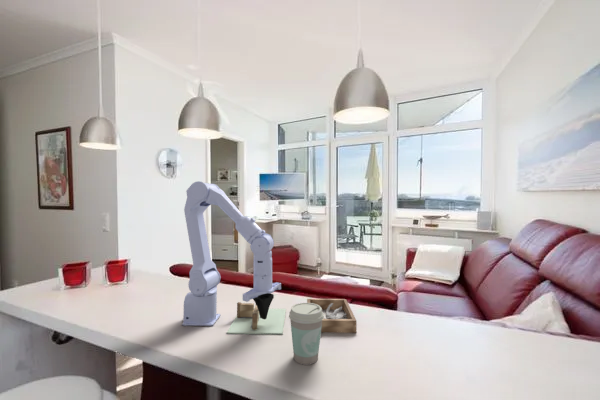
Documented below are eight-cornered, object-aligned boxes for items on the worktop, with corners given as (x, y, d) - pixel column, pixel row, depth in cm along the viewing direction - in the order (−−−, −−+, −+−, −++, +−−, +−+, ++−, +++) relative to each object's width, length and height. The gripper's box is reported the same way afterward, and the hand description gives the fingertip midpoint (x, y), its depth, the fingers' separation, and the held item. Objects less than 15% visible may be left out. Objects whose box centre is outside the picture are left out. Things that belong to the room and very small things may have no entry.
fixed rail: (236, 317, 86) (236, 302, 86) (237, 316, 88) (237, 301, 88) (258, 318, 86) (258, 303, 86) (259, 316, 88) (259, 301, 88)
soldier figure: (353, 322, 87) (344, 325, 77) (341, 331, 88) (331, 335, 77) (338, 301, 91) (328, 301, 81) (327, 310, 92) (316, 311, 81)
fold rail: (254, 318, 86) (254, 304, 86) (259, 317, 86) (259, 304, 86) (251, 329, 78) (252, 315, 78) (256, 329, 78) (256, 315, 78)
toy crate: (308, 332, 78) (308, 320, 78) (307, 308, 96) (307, 298, 96) (356, 332, 78) (356, 320, 78) (345, 308, 96) (346, 299, 96)
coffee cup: (296, 372, 59) (297, 317, 60) (283, 352, 67) (284, 304, 67) (330, 363, 63) (330, 311, 63) (313, 345, 71) (314, 300, 71)
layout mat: (226, 333, 77) (226, 332, 77) (240, 309, 95) (240, 308, 95) (282, 334, 76) (282, 332, 76) (286, 309, 94) (286, 308, 94)
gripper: (254, 281, 74) (254, 330, 74) (288, 271, 86) (288, 313, 85) (237, 277, 78) (238, 324, 78) (272, 268, 90) (272, 308, 90)
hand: (263, 318), depth 82 cm, fingers closed
